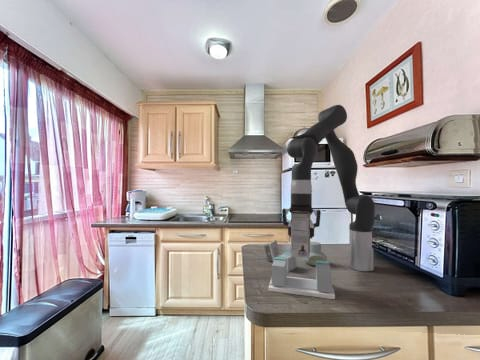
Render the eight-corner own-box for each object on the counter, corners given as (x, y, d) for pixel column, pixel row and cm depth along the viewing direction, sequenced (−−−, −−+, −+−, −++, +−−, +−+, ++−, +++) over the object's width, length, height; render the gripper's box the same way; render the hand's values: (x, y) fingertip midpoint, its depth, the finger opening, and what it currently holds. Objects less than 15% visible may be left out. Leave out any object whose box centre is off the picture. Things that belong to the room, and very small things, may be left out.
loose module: (295, 268, 107) (295, 253, 107) (287, 272, 102) (288, 257, 102) (286, 265, 110) (286, 251, 110) (278, 269, 105) (278, 254, 105)
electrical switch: (274, 263, 113) (273, 243, 113) (264, 262, 115) (263, 243, 116) (281, 258, 121) (279, 240, 122) (271, 257, 123) (270, 239, 124)
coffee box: (293, 250, 92) (293, 209, 92) (310, 251, 90) (310, 209, 90) (290, 256, 83) (290, 211, 84) (309, 258, 81) (309, 212, 82)
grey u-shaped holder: (330, 284, 89) (330, 260, 89) (334, 299, 78) (334, 271, 78) (272, 277, 95) (273, 255, 95) (268, 290, 83) (268, 264, 84)
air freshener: (304, 266, 109) (304, 244, 109) (301, 260, 117) (301, 240, 118) (328, 267, 108) (328, 245, 108) (324, 261, 116) (324, 241, 116)
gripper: (320, 192, 89) (320, 236, 88) (282, 191, 93) (282, 234, 92) (322, 193, 82) (322, 241, 81) (280, 192, 85) (280, 238, 85)
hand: (300, 237), depth 87 cm, fingers closed on coffee box, 6 cm apart
